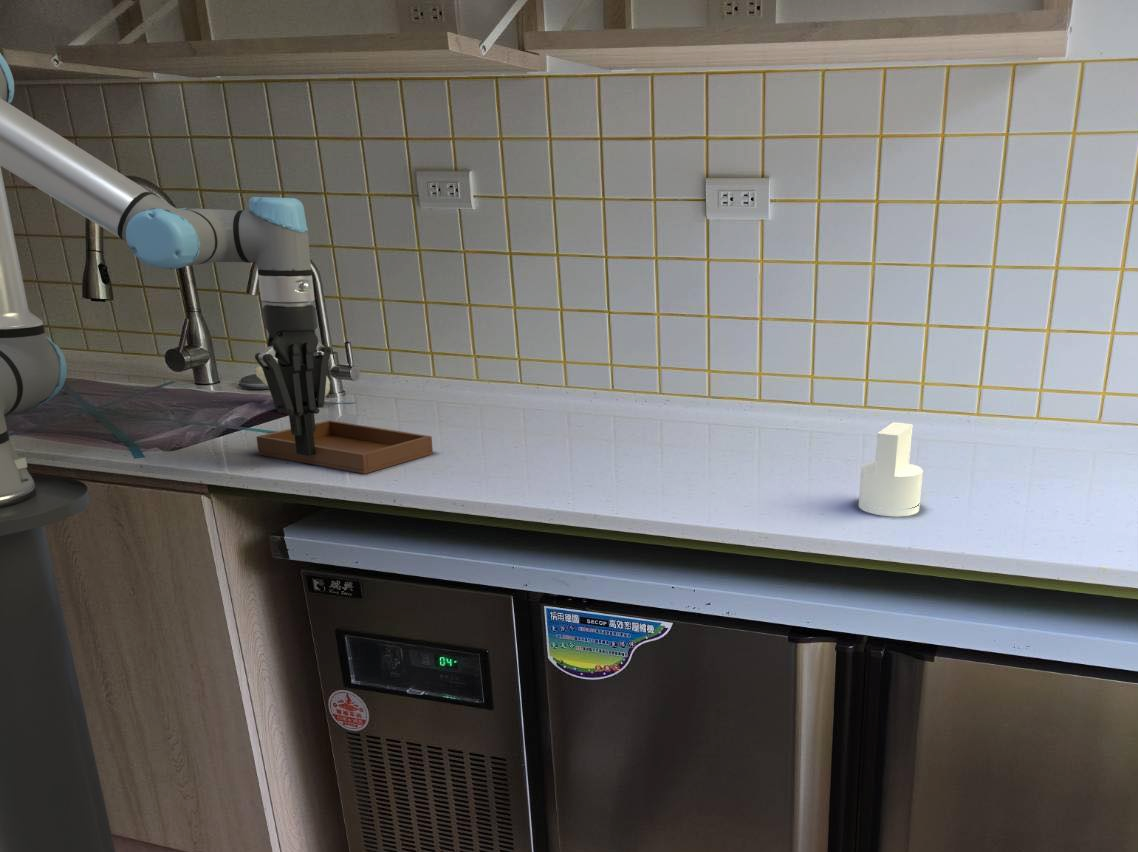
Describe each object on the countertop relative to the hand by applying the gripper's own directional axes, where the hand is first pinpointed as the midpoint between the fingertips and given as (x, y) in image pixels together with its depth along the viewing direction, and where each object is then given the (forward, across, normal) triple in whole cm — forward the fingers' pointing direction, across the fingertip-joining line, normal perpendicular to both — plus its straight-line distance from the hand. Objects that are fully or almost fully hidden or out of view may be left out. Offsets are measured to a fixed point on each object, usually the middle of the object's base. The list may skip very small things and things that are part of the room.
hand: (306, 453), depth 158 cm
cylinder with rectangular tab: (+2, +27, -90) cm, 94 cm away
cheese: (+2, +31, +40) cm, 50 cm away
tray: (+2, +8, 0) cm, 9 cm away
